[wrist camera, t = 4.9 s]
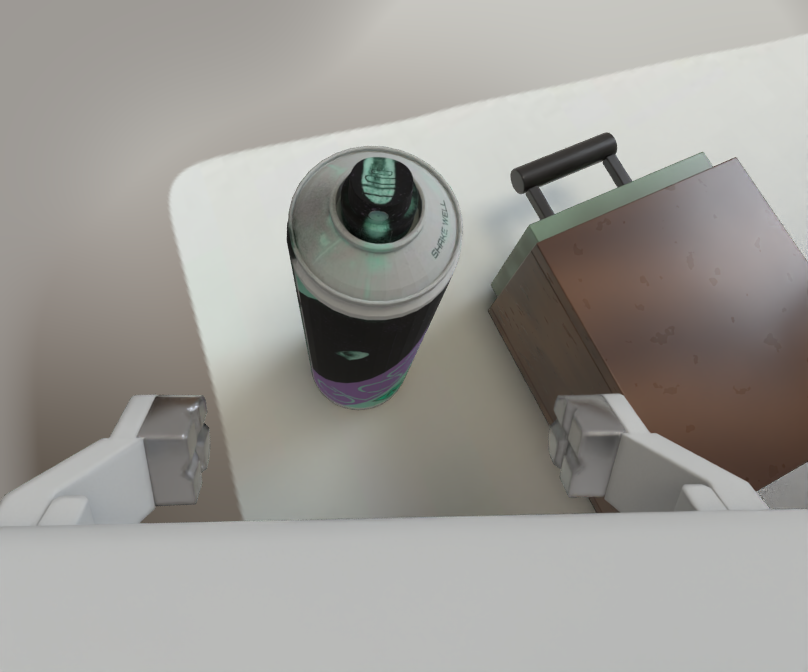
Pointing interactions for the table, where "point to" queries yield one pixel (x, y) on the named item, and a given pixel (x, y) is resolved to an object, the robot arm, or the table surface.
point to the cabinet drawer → (627, 191)
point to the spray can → (370, 267)
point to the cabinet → (675, 322)
